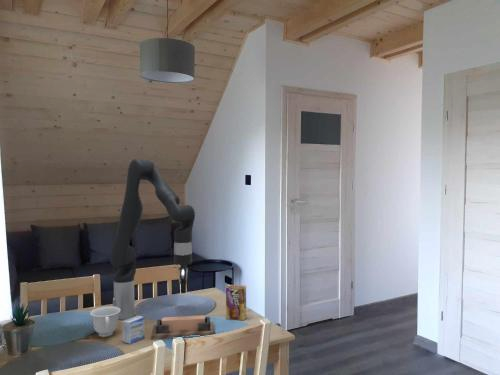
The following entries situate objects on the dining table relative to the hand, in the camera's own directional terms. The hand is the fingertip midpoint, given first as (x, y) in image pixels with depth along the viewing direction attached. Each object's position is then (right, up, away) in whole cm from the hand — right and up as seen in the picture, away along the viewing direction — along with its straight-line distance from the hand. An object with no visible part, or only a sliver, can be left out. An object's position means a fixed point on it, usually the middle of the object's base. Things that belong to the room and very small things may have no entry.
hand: (183, 292), depth 174 cm
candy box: (+22, -16, +17) cm, 32 cm away
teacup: (-32, -17, -3) cm, 36 cm away
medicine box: (-19, -18, -7) cm, 27 cm away
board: (0, -17, +1) cm, 17 cm away
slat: (0, -15, +1) cm, 15 cm away
